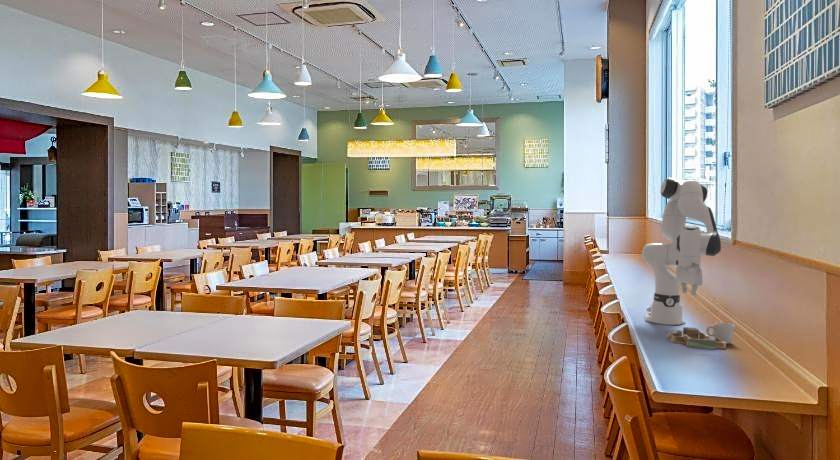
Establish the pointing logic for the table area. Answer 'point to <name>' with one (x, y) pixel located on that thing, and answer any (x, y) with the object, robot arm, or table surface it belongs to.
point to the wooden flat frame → (697, 340)
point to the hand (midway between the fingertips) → (688, 293)
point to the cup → (722, 331)
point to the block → (691, 332)
